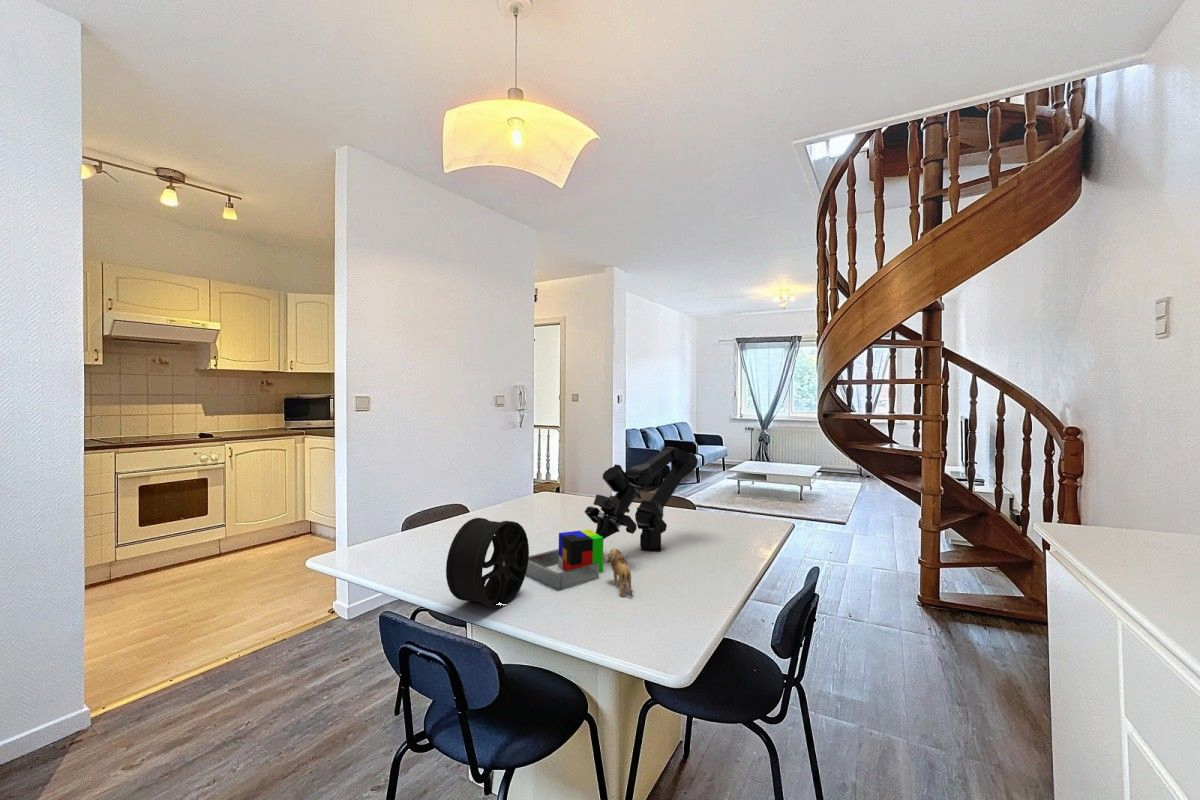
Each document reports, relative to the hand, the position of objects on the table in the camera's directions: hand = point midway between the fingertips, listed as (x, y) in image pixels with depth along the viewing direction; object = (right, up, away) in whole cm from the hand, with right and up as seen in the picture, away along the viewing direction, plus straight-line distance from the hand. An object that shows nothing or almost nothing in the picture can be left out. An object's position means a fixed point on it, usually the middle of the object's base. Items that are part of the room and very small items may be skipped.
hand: (595, 542), depth 152 cm
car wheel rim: (-26, -7, -28) cm, 39 cm away
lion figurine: (+7, -7, -19) cm, 21 cm away
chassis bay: (-10, -7, -9) cm, 15 cm away
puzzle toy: (-4, -7, -4) cm, 9 cm away
